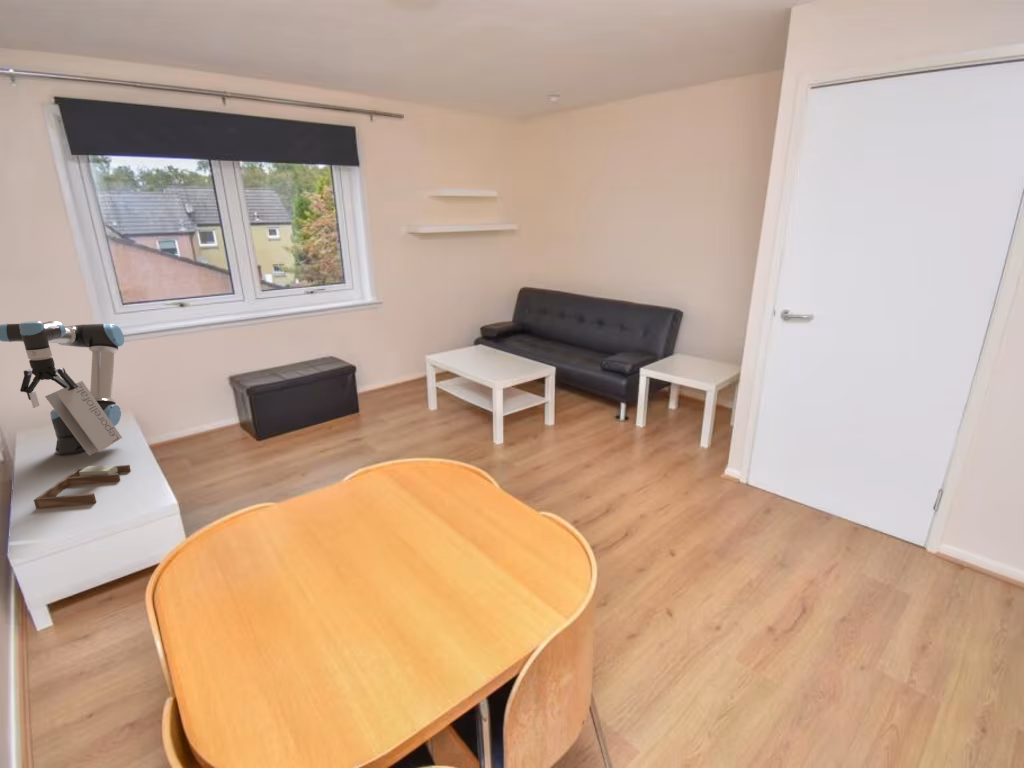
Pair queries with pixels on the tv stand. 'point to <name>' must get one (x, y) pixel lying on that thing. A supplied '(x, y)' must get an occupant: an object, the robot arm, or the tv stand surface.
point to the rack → (75, 479)
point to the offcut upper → (98, 470)
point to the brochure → (84, 418)
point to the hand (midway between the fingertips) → (54, 405)
